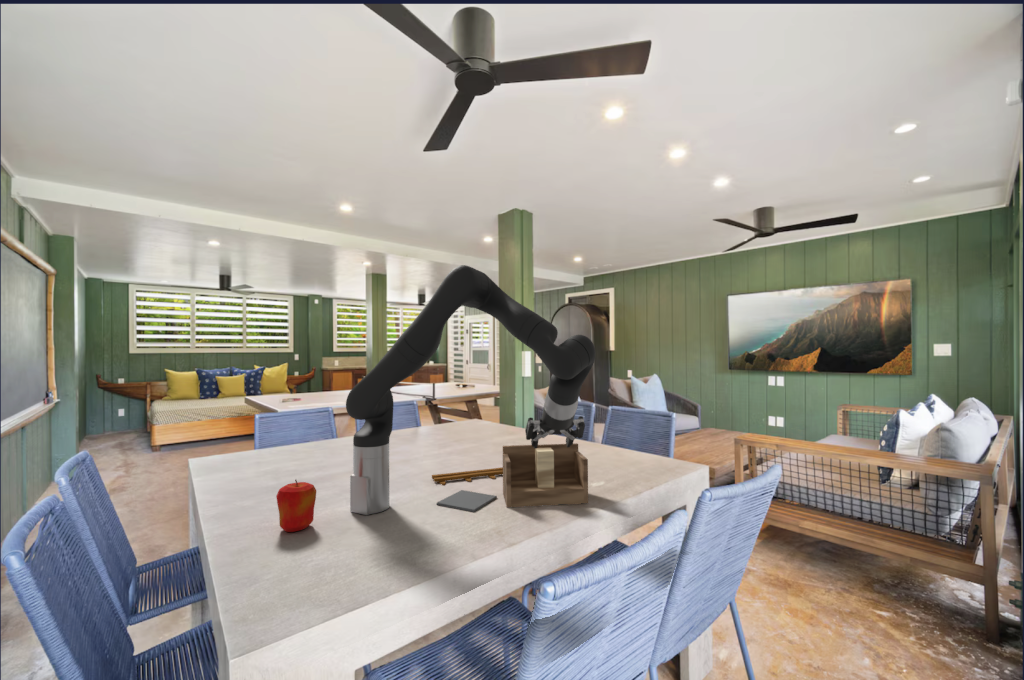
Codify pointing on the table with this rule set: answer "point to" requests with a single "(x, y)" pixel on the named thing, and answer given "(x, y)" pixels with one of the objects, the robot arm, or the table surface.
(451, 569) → the table surface
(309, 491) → the apple
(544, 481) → the maple block
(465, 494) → the charcoal mat
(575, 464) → the walnut cubby
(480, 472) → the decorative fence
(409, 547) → the table surface
